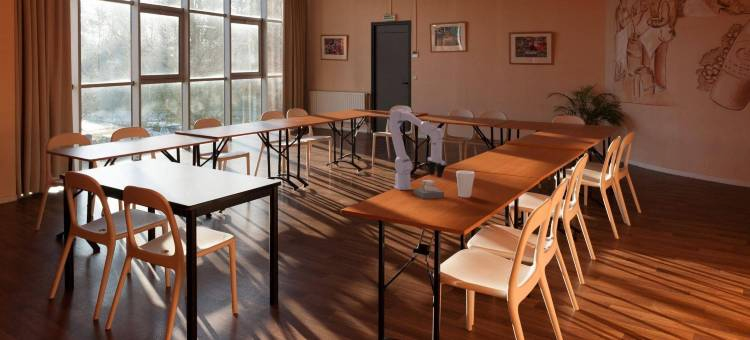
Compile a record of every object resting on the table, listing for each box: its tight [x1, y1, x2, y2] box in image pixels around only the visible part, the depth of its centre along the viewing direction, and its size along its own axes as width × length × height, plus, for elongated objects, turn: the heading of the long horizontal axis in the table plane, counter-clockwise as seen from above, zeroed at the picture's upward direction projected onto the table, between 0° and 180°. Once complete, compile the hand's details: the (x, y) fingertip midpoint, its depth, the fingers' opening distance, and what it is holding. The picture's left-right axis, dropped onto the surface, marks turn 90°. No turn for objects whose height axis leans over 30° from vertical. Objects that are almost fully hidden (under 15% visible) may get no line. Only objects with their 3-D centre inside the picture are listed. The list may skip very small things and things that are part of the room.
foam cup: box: [455, 169, 475, 198], centre depth 351 cm, size 10×9×13 cm
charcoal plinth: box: [413, 187, 445, 200], centre depth 352 cm, size 12×12×3 cm
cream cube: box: [421, 179, 436, 191], centre depth 351 cm, size 5×5×5 cm
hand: (435, 176), depth 356 cm, fingers open, 7 cm apart
